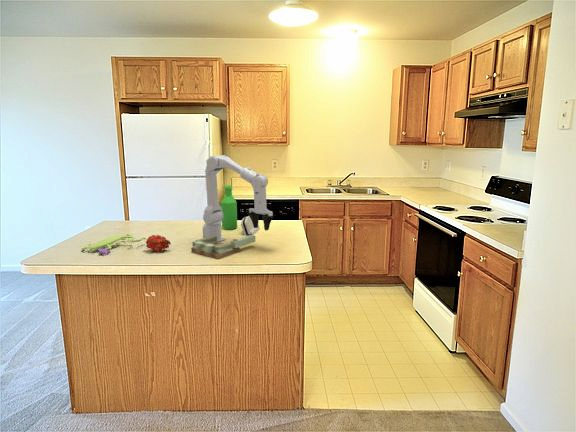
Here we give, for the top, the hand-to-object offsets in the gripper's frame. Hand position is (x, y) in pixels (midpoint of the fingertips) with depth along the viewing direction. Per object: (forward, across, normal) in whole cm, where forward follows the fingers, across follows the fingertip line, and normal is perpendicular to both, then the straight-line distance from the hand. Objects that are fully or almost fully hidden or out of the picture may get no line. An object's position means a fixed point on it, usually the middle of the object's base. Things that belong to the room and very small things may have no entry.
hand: (261, 228), depth 186 cm
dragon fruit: (+9, +32, +37) cm, 50 cm away
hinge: (+9, +28, -16) cm, 34 cm away
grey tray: (+9, +11, +19) cm, 24 cm away
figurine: (+9, +52, +49) cm, 72 cm away
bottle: (+9, +43, -14) cm, 46 cm away
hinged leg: (+7, +5, +7) cm, 11 cm away
